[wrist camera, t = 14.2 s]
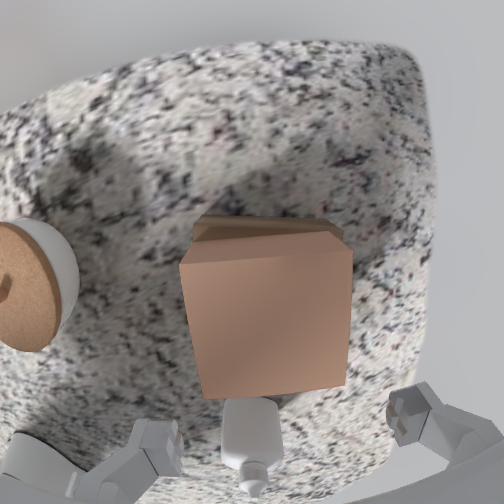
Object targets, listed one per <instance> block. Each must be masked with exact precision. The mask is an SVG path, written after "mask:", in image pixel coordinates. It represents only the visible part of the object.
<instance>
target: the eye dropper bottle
mask: <svg viewBox="0 0 504 504" xmlns="http://www.w3.org/2000/svg"><path fill="white" fill-rule="evenodd" d="M283 457H284V448H283V440H282V433H281V426H280V419H279V412H278V406H277V404H276V403H275V402H274V401H272V400H270V399H267V398H263V397H247V398H231V399H226V401H225V402H224V408H223V422H222V440H221V460H222V462H223V463H224V464H226V465H227V466H229V467H231V468H233V469H236V470H239V488H240V489H241V490H243V491H245V492H248V494H249V498H250V500H251V501H258V500H259V496H260V492H261V491H264V490H265V489H267V488H268V486H269V484H268V472H267V471H268V470H271V469H274V468H276V467H278V466H279V465H280V464H281V462H282V460H283Z"/></svg>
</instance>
